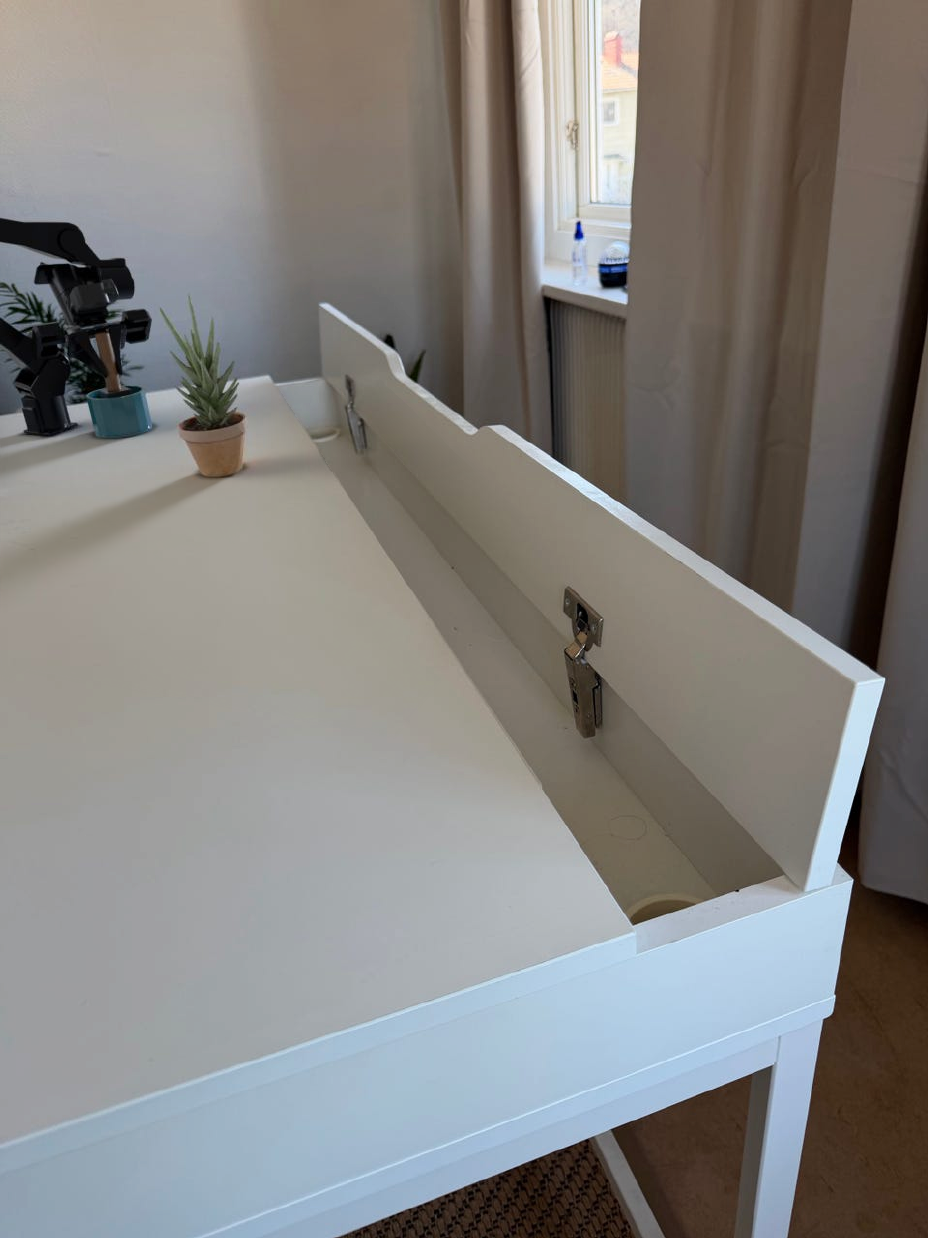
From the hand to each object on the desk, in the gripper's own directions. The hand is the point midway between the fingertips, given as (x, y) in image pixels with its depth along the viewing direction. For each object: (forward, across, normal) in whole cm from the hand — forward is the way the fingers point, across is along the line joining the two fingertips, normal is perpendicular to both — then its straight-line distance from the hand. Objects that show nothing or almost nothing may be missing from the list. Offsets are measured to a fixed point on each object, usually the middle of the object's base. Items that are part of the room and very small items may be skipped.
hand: (113, 374), depth 153 cm
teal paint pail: (+6, 0, +8) cm, 10 cm away
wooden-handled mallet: (+4, 0, +6) cm, 7 cm away
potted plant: (+30, +2, -16) cm, 34 cm away
